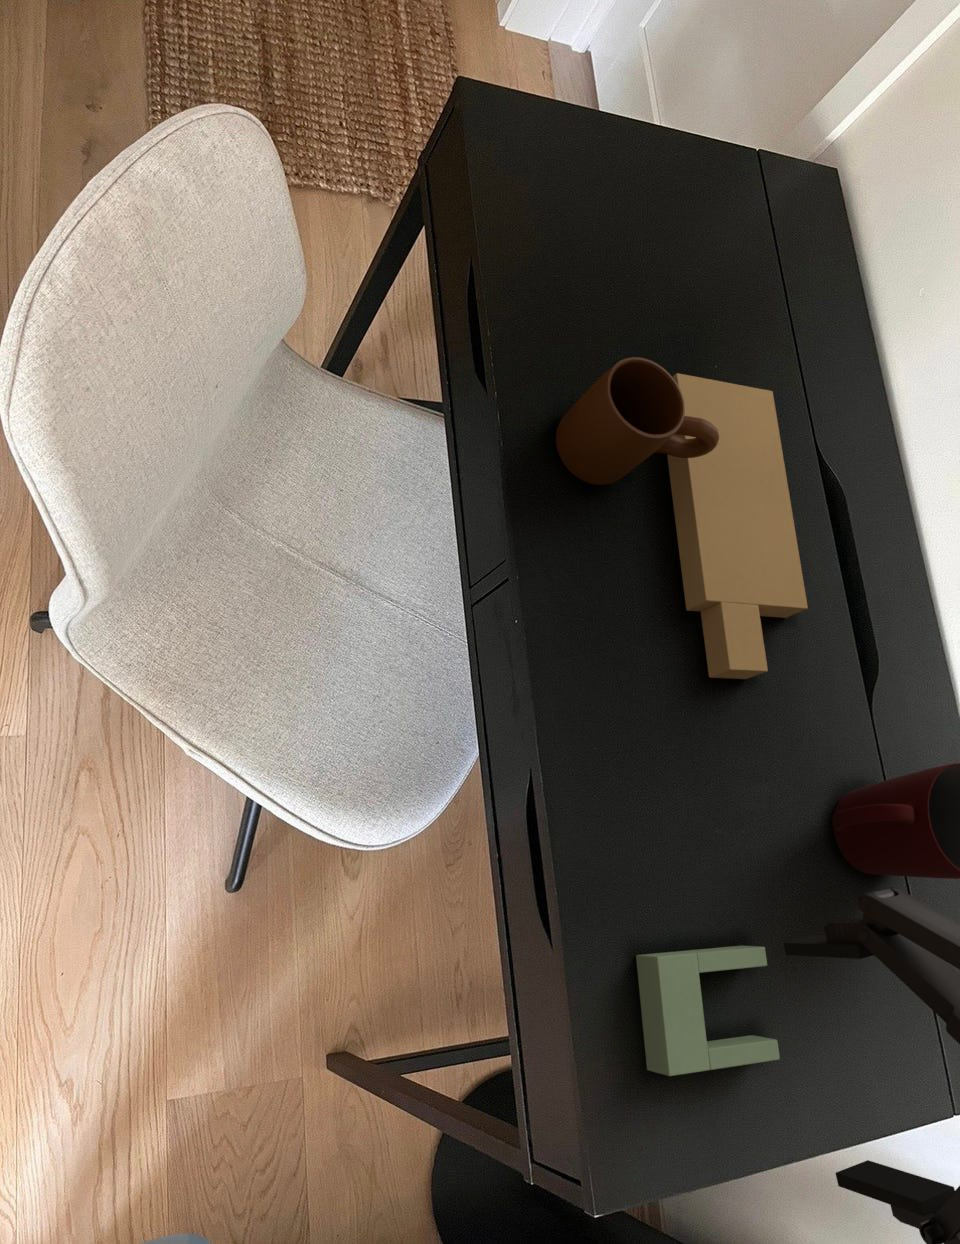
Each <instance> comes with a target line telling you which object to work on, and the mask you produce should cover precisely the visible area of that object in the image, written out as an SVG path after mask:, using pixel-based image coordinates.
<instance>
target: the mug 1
mask: <svg viewBox="0 0 960 1244" xmlns="http://www.w3.org/2000/svg"><path fill="white" fill-rule="evenodd" d="M684 414H685V405H684V399H683V395H682V393H681V390H680V388H679V386H678V384H677V383H676V381H675V380H674V378H673V376H672V375H671V374H670V372H668V370H666V368H664V367H663V366H661V365H660V364H659V363H657V362H655V361H653V360H650V359H648V358H644V357H638V356H635V357H634V356H632V357H626V358H623V359H621V360H619V361H618V362H616V363H615V364H614V365H612V366H611V367H610V368H609V369H607V370H606V371H605V372H604V373H602V375H601V376H600V377H599V378H597V380H596V381H595V382H594V383H593V384H592V385H591V386H590V387H589V388H588V389H587V390H586V391H585V393H584V394H583V395H581V396H580V397H579V399H578V400H577V401H576V402H575V403H574V404H573V405H572V406H571V407H570V408H569V409H568V411H567V412H566V413H565V414H564V415H563V416H562V418H561V419H560V421H559V423H558V425H557V428H556V432H555V446H556V450H557V453H558V456H559V459H560V461H561V462H562V464H563V466H565V468H566V469H567V470H568V471H569V472H570V473H571V475H573V476H574V477H576V478H577V479H579V480H580V481H582V482H584V483H587V484H590V485H594V486H595V485H596V486H607V485H611V484H613V483H616V482H617V481H619V480H621V479H623V478H624V477H625V476H626V475H628V474H629V473H630V472H632V471H633V470H634V469H635V468H636V467H638V466H639V465H641V464H642V463H643V462H644V461H645V460H647V459H649V457H650V456H652V455H653V454H665V455H667V454H668V455H671V456H674V457H680V458H695V457H700V456H703V455H706V454H708V453H709V452H711V451H712V450H713V449H714V448H715V447H716V446H717V443H718V441H719V433H718V430H717V428H716V427H715V426H714V425H713V424H712V423H710V422H708V421H707V420H705V419H702V418H696V417H690V416H684ZM674 434H678V435H684V436H691V437H696V438H693V439H683V438H679V437H677V436H674Z"/></svg>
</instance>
